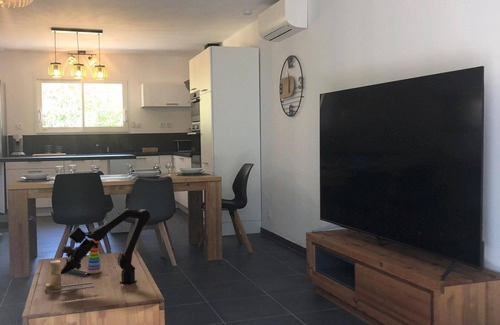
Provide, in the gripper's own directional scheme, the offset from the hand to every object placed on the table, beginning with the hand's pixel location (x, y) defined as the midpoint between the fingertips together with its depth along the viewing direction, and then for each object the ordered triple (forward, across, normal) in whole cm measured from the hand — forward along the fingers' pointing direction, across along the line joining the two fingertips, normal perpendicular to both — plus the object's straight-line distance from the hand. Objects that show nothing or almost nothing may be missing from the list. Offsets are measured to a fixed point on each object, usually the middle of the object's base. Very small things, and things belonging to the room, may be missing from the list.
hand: (61, 273), depth 263 cm
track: (+3, 0, +9) cm, 9 cm away
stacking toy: (-8, -30, +20) cm, 37 cm away
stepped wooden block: (+8, 0, +3) cm, 9 cm away
